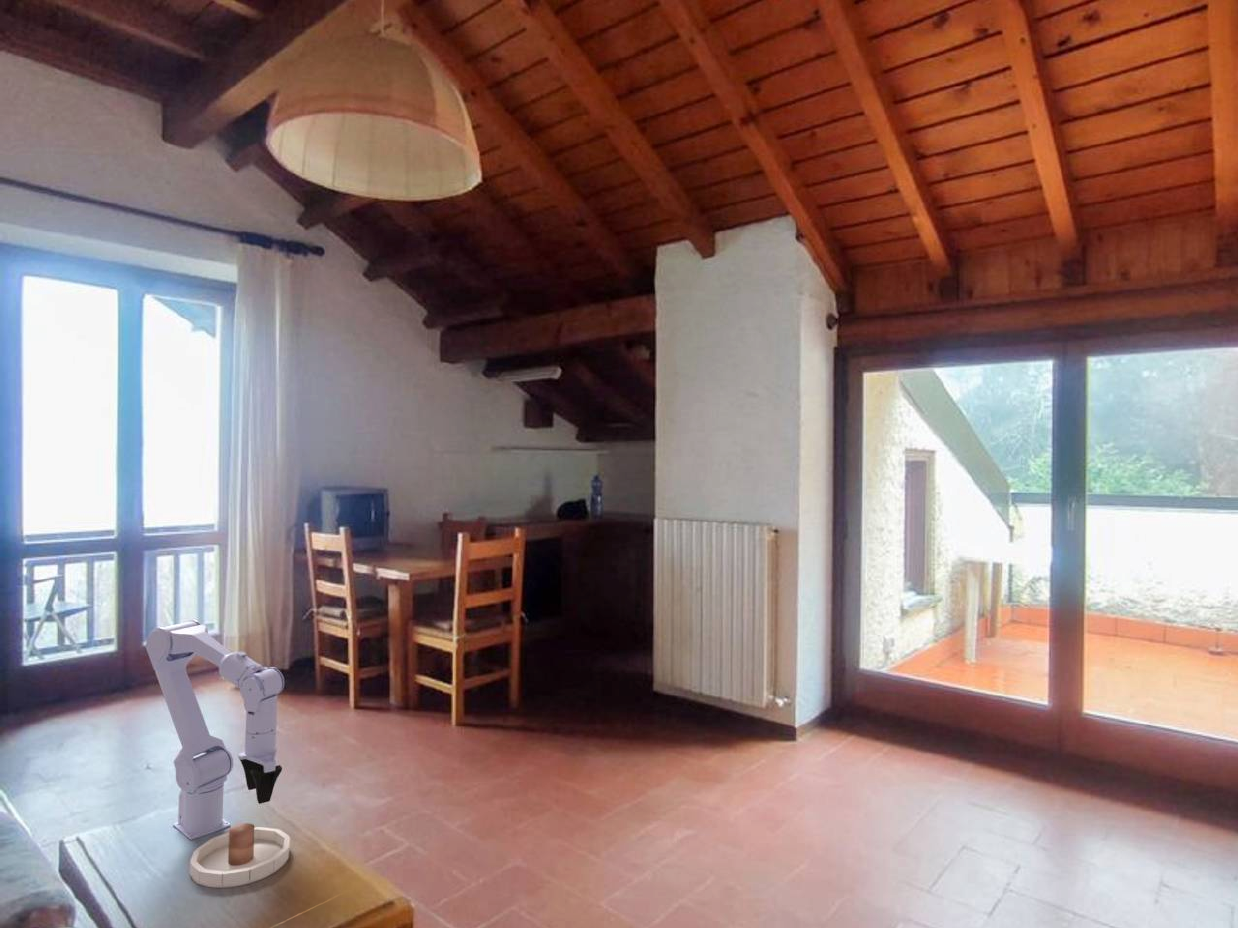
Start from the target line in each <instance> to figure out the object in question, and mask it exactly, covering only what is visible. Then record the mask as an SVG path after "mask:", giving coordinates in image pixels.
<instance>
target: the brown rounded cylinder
mask: <svg viewBox="0 0 1238 928" xmlns="http://www.w3.org/2000/svg"><path fill="white" fill-rule="evenodd" d="M254 828H255V825H254V824H253V823H249V822H245V823H239V824H236V825H234V826H232V827H230V829H229V830H228V832H229V852H228V863H229V864H230V865H233V866H239V865H244V864H246V863H249V862H250V861H252V860H253V858H254Z"/></svg>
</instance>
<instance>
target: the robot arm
mask: <svg viewBox="0 0 1238 928" xmlns="http://www.w3.org/2000/svg"><path fill="white" fill-rule="evenodd" d="M144 646H145V649H146V652H147V655H148V657H149V660H150V663H151V665H152V668H153V670H154V671H155V676H156V679H157V680H158V683H159V686H160V689H161V691H162V694H163V697H164V700H165V703H166V706H167V710H168V712H169V714H170V717H171V719H172V723H173V725H174V728H175V731H176V734H177V737H178V740H179V741H180V744H181V745H180V746H181V749H180V750H179V752H178V754H177V755H176V757H175V758H174V760H173V765H174V768H175V782H176V784H177V786H178V787H179V788H180V791H179V795H178V808H177V809H178V812H177V814H178V816H177V821H175V822H174V823H173V824H172V826H173V827H174V828H175V829H177V830H178V831H179V832H180V833H182V834H183V835H184V836H185V837H186V838H188V839H189V840H192V841H193V840H195V839H198V838H201V837H204V836H207V835H209V834H212V833H215V832H218V831H221V830H224V829H227V828H229V827H231V823H230V822H229V821H227V820H226V819H224V818H223V817H224V816H223V815H224V786H225V782H227V779H228V775H229V774H231V772H233V768H234V758H233V755H232V753H231V752H230V750H229V749H228V748H227V747H226V745H225V743H224V741H223V740H222V739H221V738H219V737H215V736H213V735H211V734H210V732H209V728H208V726H207V723H206V721H205V718H204V715H203V713H202V710H201V707H200V705H199V702H198V699H197V697H196V693H195V690H194V688H193V685H192V683H191V680H190V677H189V675H188V673H187V670H186V669H187V666H188V664H189V662H190V661H192V660H193V658H194V657H195V655H197V656H199V657H200V658H203V659H204V660H206V661H208V662H209V663H211V664H214V665H215V666H216V667H218V673H219V675H220V676H221V677H222V678H224V679H225V680H227V681H228V682H230V683H231V684H232V685H234V686H235V687H237V688H238V689H239V693H240V696H241V698H242V700H243V708H244V710H245V711H246V712H245V713H246V714H245V716H246V717H245V736H244V737H245V738H244V740H245V742H244V751H242V752H240V753H238V756H237V757H238V760H239V761H240V764H241V765H242V768H243V772H244V777H245V782H246V786H247V789H248V791H252V790H255V795H256V800H257V803H258V804H259V805H261V804H264V803H268V802H270V801H271V799H272V796H273V791H274V788H275V786H276V785H275V784H276V782H277V780H278V777H279V776H280V774H281V773H282V771H283V767H282V765H280V764H278V765H277V764H276V763H277V762H276V761H277V760H276V756H277V746H276V744H277V722H278V721H277V717H278V714H277V713H278V695H279V694H281V692H282V691H283V690H284V687H285V677H284V675H283V674H282V672H281V671H280V670H279V669H278V668H277V667H275V666H270V667H266V666H263V665H262V664H260V663H258V662H257V661H254V660H253V658H250V657H248V656H247V653H246V652H244V651H235V652H231V651H230V650H229V649H227V648H226V647H225V646H223V645H222V644H221V643H220V642H219V641H217V639H215V638H213V636H212V635H210V634H209V630H208V628H207V626H206V625H204V624H203V623H201V622H200V621H199V620H197V619H192V620H189V621H185V622H182V623H181V622H180V623H176V624H172V625H167V626H161V627H159V626H158V627H155V628H154V629H151V631H150V632H149V634H148V636H147V639H146V642H145V645H144ZM194 757H195V758H194Z"/></svg>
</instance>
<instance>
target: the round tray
mask: <svg viewBox="0 0 1238 928" xmlns="http://www.w3.org/2000/svg"><path fill="white" fill-rule="evenodd" d="M290 848H291V837H290V835H288V834H287V833H286V832H284V831H282V830H281V829H280V828H271V827H263V826H259V827H258V826H254V858H253V860H252V861H250V862H249V863H246V864H244V865H239V866H233V865H230V864H229V863H228V852H229V831H228V832H225V833H223V834H221V835H217V836H215V837H211V838H210V839H208V840H207V841H206V842H204V843H202V844H201V845H200V846H199V847H197V848H196V849H194V850H193V851H192V855H191V857H190V861H189V870H188V871H189V873H188V874H189V875H190V877H191V879H192V881H194V882H195V883H196V884H198V885H199V886H203V887H206V888H214V889H217V888H218V889H222V888H223V889H224V888H225V889H227V888H235V887H241V886H245V885H248V884H251V883H255V882H258V881H261V880H264V879H265V878H268V877H269V876H271V875H273V874H275V873H276V872H278V871H279V870H280V869H281V868H283V866H284V865H285V864H286V863H287V862H288V860H289V857H290Z"/></svg>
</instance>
